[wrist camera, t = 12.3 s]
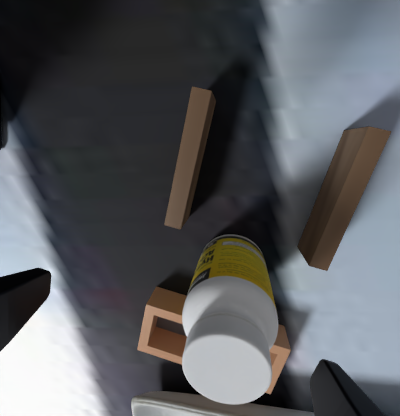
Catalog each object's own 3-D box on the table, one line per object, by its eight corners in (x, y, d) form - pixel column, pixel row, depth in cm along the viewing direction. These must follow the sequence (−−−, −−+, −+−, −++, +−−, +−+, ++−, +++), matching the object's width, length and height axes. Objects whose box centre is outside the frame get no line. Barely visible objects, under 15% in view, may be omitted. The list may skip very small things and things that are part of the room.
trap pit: (147, 328, 22) (137, 349, 20) (156, 286, 21) (146, 304, 18) (266, 366, 21) (270, 394, 19) (284, 325, 20) (290, 350, 17)
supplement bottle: (210, 223, 18) (184, 301, 9) (274, 244, 18) (315, 348, 9) (192, 277, 20) (155, 391, 11) (251, 297, 20) (265, 434, 10)
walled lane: (175, 213, 19) (164, 224, 16) (199, 97, 16) (192, 86, 13) (312, 250, 18) (327, 270, 15) (361, 134, 15) (391, 131, 12)
